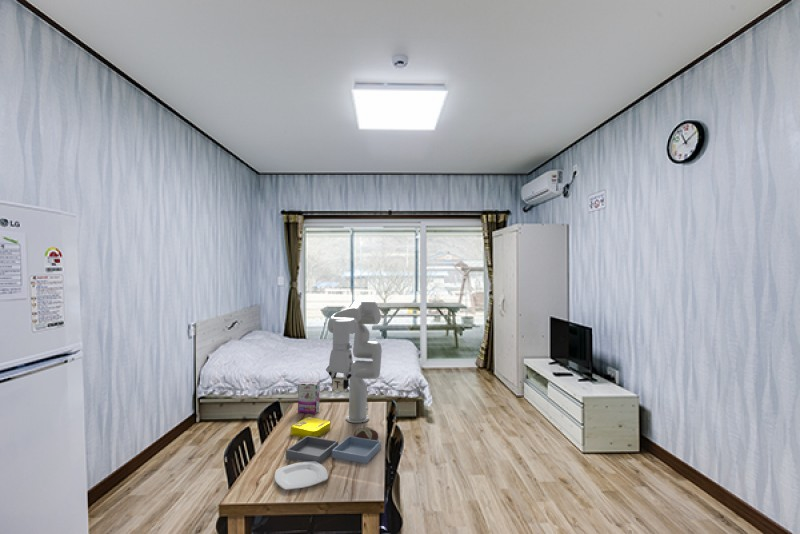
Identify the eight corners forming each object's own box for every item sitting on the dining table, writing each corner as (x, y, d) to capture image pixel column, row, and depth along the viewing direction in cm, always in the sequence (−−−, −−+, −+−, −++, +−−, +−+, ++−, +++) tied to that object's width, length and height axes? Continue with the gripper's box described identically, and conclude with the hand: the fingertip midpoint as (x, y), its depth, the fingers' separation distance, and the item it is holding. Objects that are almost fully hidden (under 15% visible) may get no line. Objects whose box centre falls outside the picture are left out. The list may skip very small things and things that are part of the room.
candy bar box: (319, 411, 222) (320, 382, 222) (316, 414, 217) (316, 384, 218) (301, 409, 224) (301, 381, 224) (297, 412, 219) (298, 383, 219)
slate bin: (348, 443, 178) (349, 436, 179) (380, 449, 173) (381, 441, 173) (331, 458, 163) (331, 450, 164) (366, 465, 158) (366, 456, 158)
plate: (270, 473, 151) (270, 468, 151) (318, 462, 160) (318, 458, 160) (280, 498, 134) (280, 492, 134) (333, 484, 144) (333, 479, 144)
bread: (358, 445, 177) (358, 434, 177) (351, 436, 188) (352, 425, 188) (381, 442, 181) (381, 431, 181) (373, 433, 192) (373, 423, 192)
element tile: (314, 441, 182) (314, 430, 182) (288, 435, 188) (288, 425, 188) (331, 429, 196) (332, 420, 196) (307, 424, 202) (307, 415, 202)
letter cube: (337, 387, 178) (338, 376, 178) (347, 388, 176) (347, 377, 176) (332, 390, 173) (332, 378, 173) (342, 391, 171) (342, 379, 171)
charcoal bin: (306, 443, 178) (307, 435, 178) (337, 449, 173) (337, 441, 173) (285, 458, 163) (285, 450, 163) (318, 465, 157) (319, 456, 158)
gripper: (361, 347, 176) (360, 387, 175) (328, 344, 181) (327, 383, 181) (354, 349, 169) (353, 391, 168) (320, 347, 174) (319, 387, 174)
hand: (340, 387), depth 174 cm, fingers closed on letter cube, 4 cm apart
